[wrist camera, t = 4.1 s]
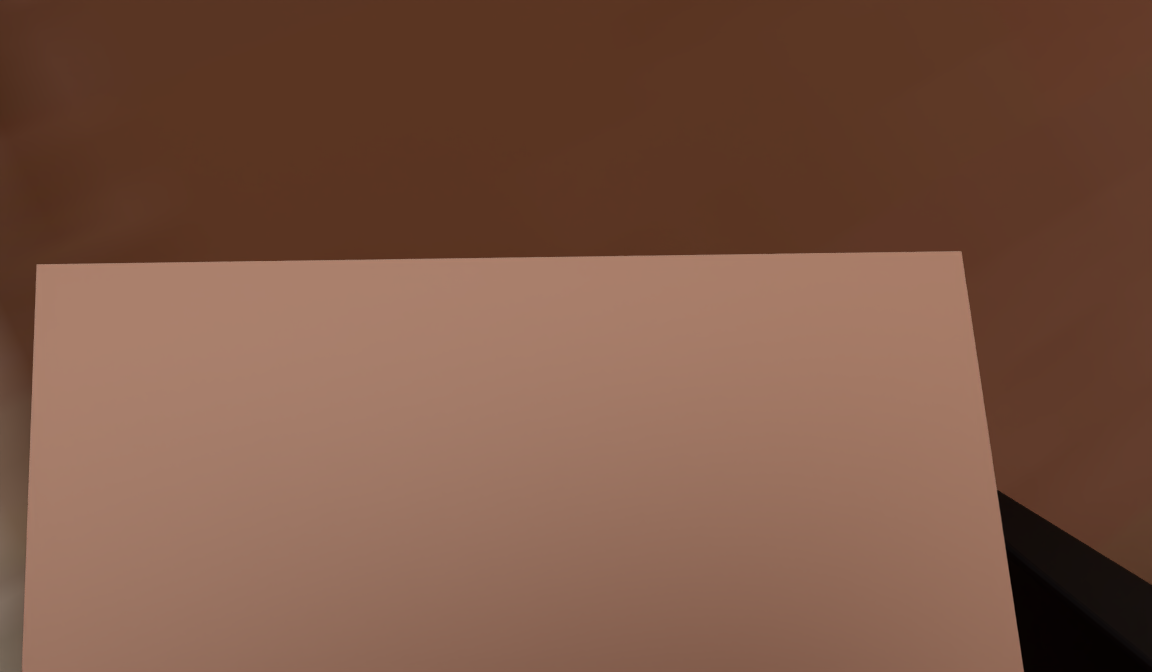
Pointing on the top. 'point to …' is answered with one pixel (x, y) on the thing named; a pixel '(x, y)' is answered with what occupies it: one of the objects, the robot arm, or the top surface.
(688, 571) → the tall brick
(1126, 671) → the robot arm
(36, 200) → the top surface
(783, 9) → the top surface
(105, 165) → the top surface
